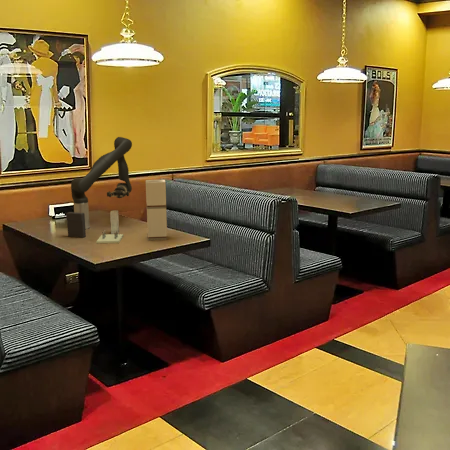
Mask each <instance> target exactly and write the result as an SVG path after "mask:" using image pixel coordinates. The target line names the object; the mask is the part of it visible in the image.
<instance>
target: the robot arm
mask: <svg viewBox="0 0 450 450" xmlns="http://www.w3.org/2000/svg"><path fill="white" fill-rule="evenodd" d="M132 146H133V142H132V140H131V139H129V138H126V137H123V136H117V137H116V138H115V139H114V141H113V148H114V149H113V150H111V151H110V152H107V153H105V154H103V155H101V156H100V157H99V158H98V159H97V160H96V161H94V163H93V164H92V166H91V169H90V170H89V171H88V173H87V174H86V175H85V176H83V177H82V178H81V177H75V178H73V179H72V180H71V183H70V191H71V197H72V198H71V199H72V200H73V212H77V213H84V214H85V230H87V229H90V228H91V227H90V226H91V225H90V211H89V199H88V197H87V196H86V194H85V193H87V191H89V190H90V189H91V187H92V186H93V185H94V184H95V183H96V181H98V179H100V178H101V177H102V175H104V174H105V173H106V172H107V171H108V170H109V169H110V168H111V167H112V166H113V165H114V164H115V163H116V162H117V171H118V180H120V181H123V182H119V183H117V184H116V187H115V189H114V190H113V191H107V192H106V197H109V198H111V197H115V198H117V199H122V198H124V197H130V193H131V192H132V190H133V188H132V184H131V181H130V180H131V179H130V173H129V167H128V166H129V165H128V163H127V160H126V158H125V155H126V154H127V153H128V152H129V151H131V149H132Z"/></svg>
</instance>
